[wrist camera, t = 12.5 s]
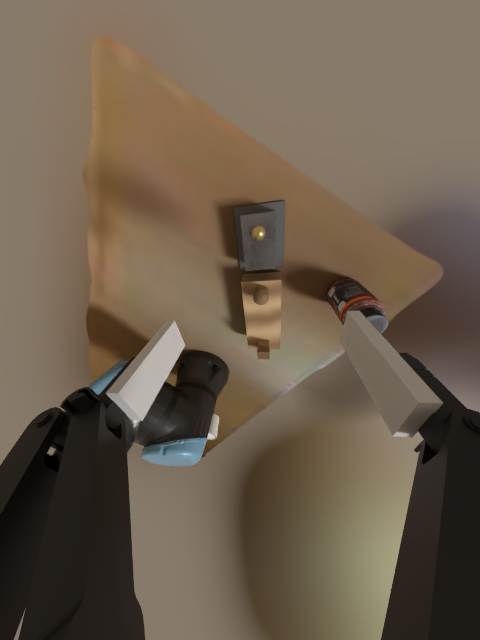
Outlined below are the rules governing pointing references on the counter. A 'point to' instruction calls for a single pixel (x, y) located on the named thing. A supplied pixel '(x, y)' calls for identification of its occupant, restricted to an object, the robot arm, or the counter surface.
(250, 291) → the body
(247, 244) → the lever cap
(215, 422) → the white cup
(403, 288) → the counter surface
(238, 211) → the mat
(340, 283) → the supplement bottle
